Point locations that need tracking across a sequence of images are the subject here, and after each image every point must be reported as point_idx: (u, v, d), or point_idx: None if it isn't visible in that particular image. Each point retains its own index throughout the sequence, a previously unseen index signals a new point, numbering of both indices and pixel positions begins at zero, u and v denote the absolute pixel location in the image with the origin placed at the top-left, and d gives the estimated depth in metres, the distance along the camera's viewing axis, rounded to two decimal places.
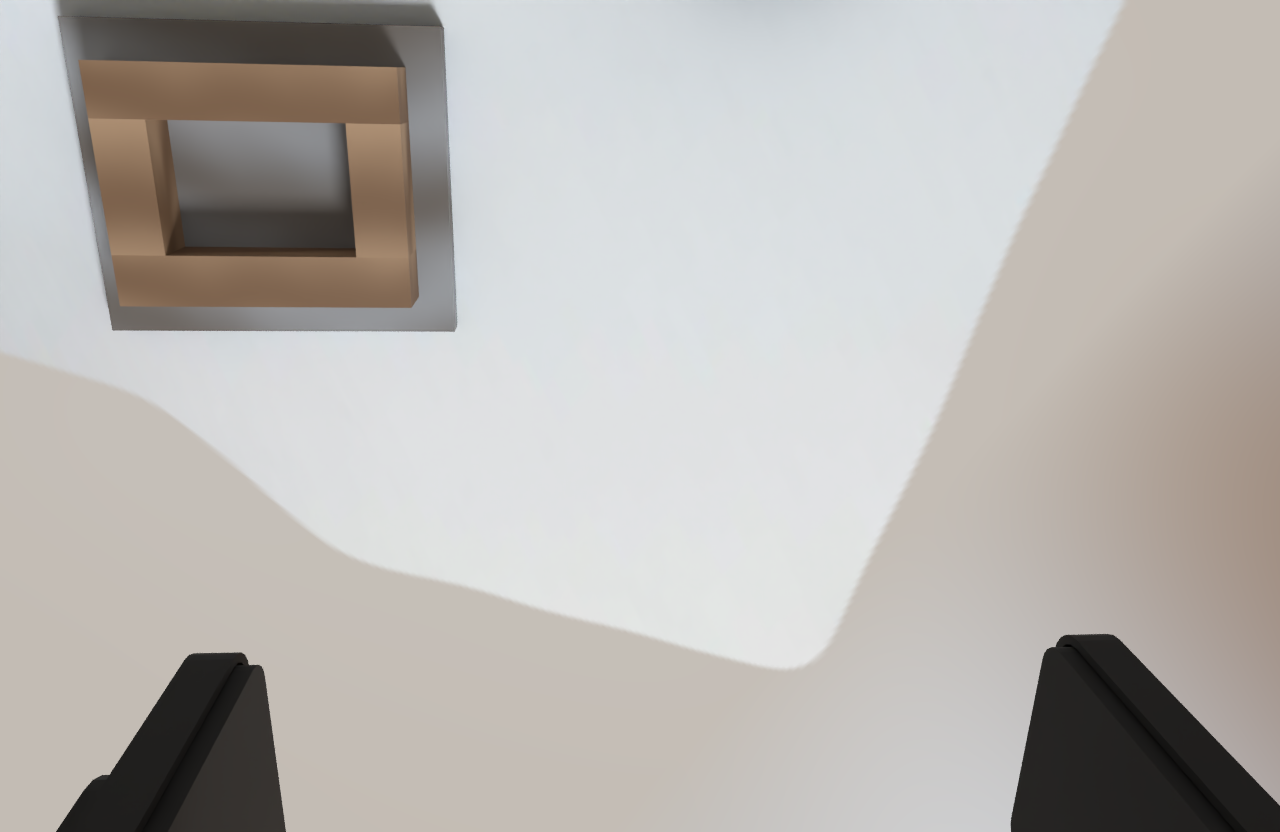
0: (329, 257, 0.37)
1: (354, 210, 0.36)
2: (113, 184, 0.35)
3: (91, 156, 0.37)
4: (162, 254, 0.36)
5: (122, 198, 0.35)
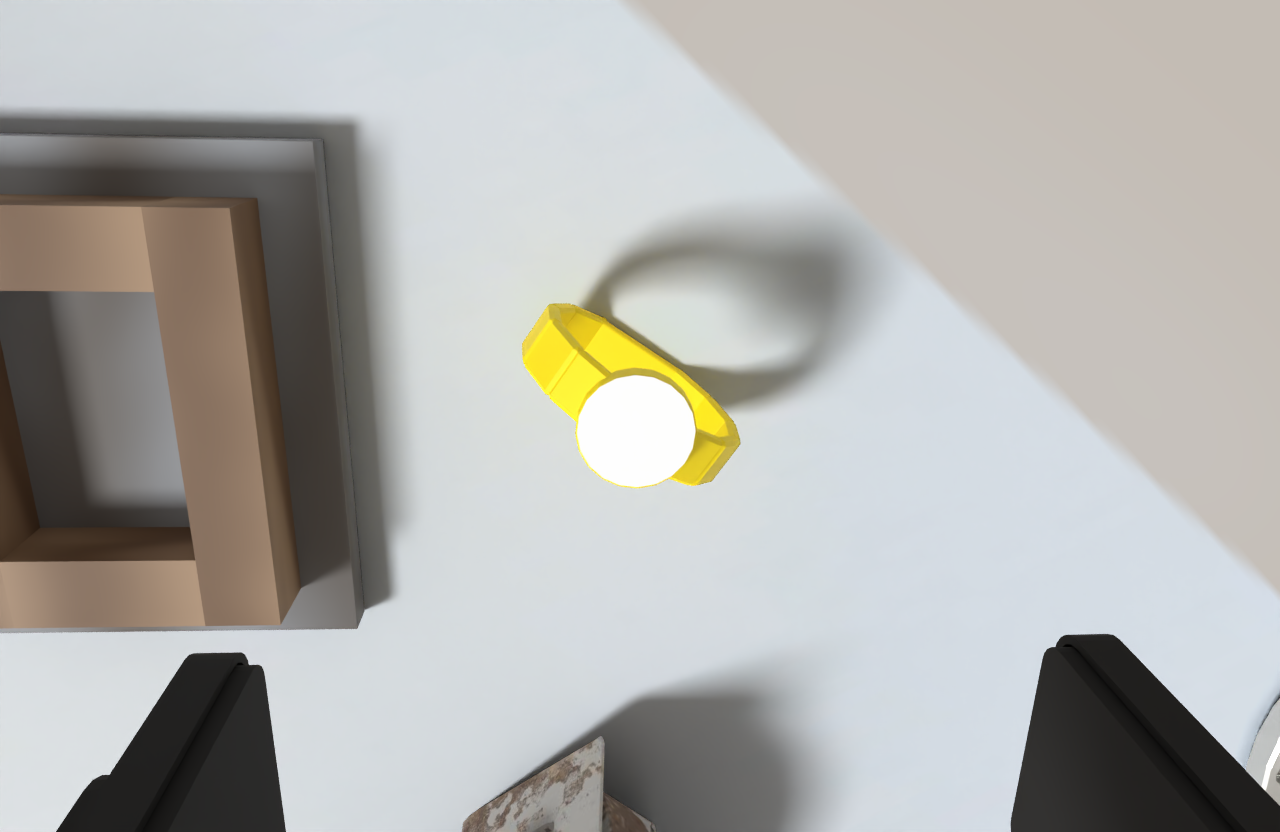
0: None
1: (70, 564, 0.25)
2: (40, 227, 0.22)
3: (106, 151, 0.23)
4: None
5: (19, 237, 0.22)
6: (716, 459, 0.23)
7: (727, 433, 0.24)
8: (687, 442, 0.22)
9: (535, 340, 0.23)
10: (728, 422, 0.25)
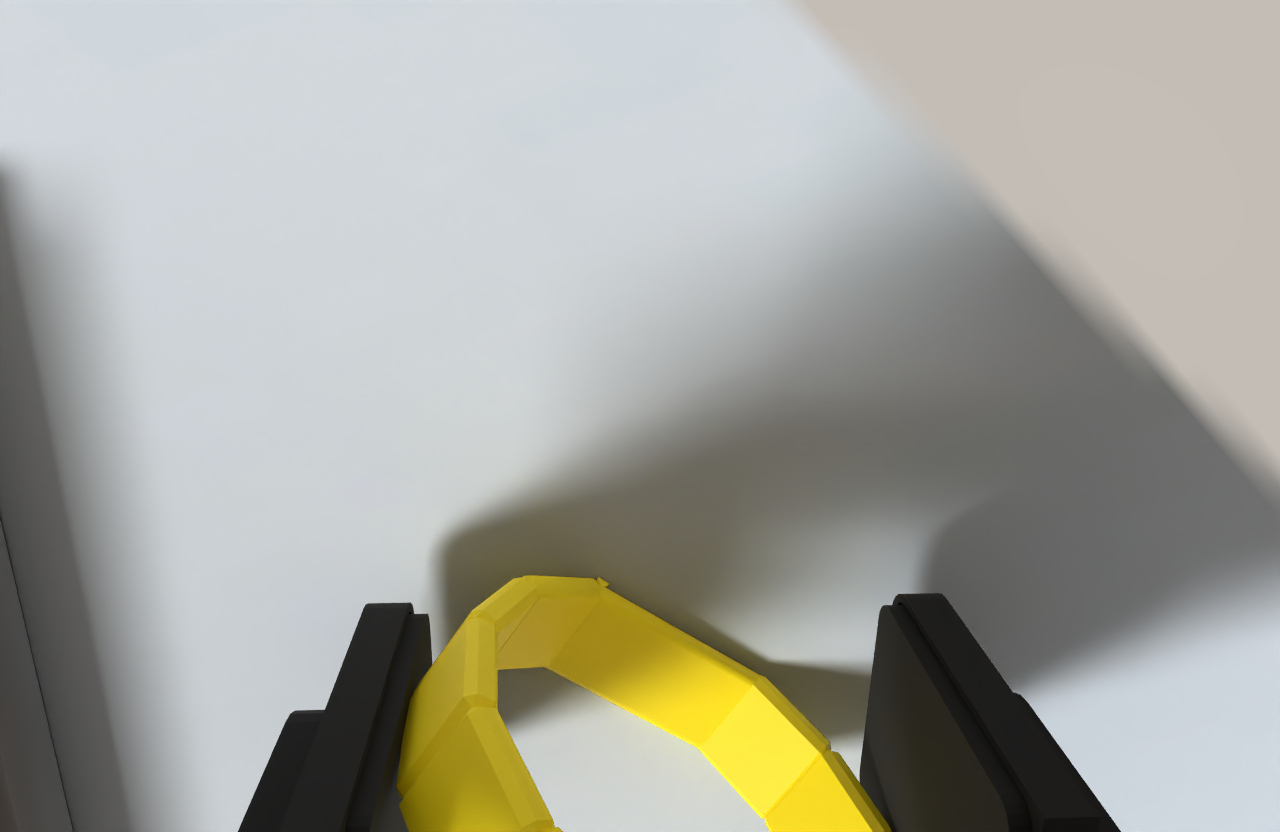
0: None
1: None
2: None
3: None
4: None
5: None
6: None
7: None
8: None
9: (427, 744, 0.09)
10: None
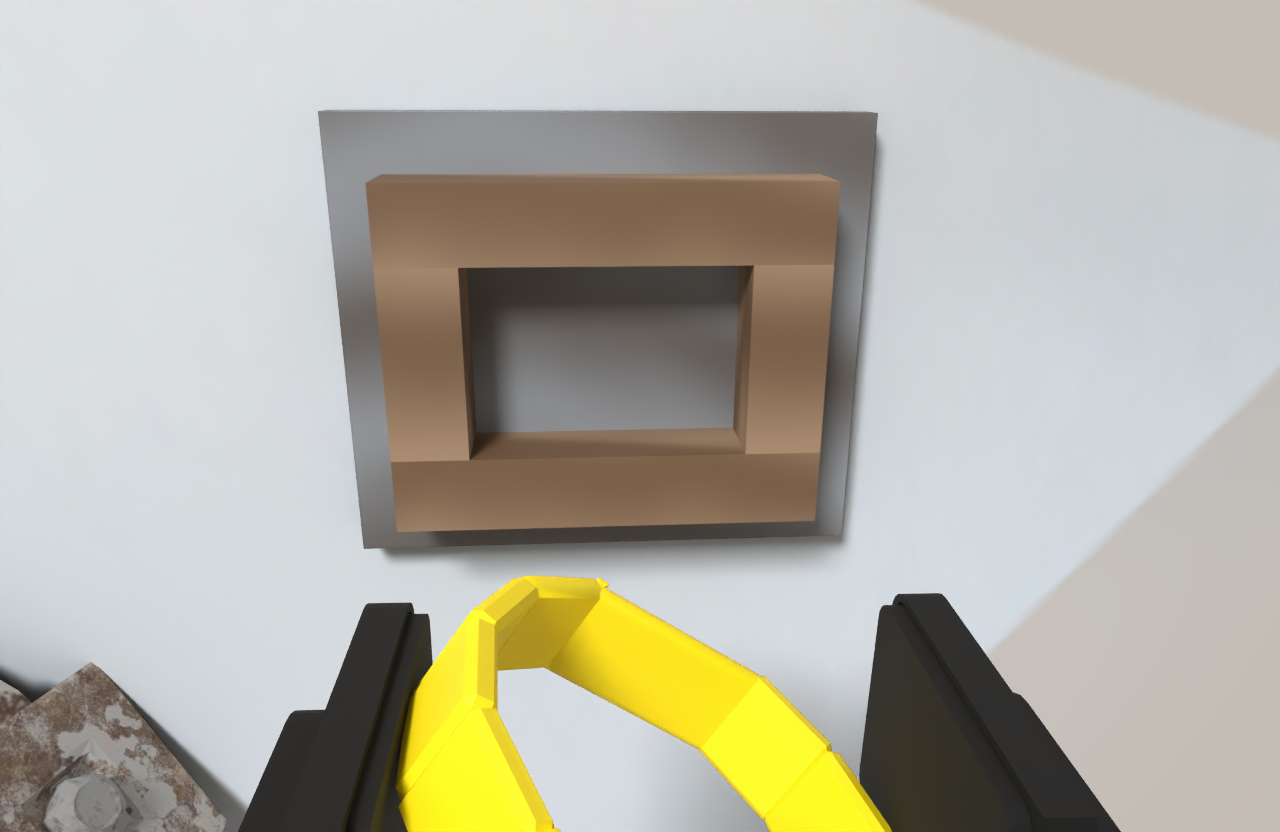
0: (501, 265, 0.23)
1: (458, 341, 0.23)
2: (806, 368, 0.24)
3: (843, 374, 0.26)
4: (758, 266, 0.23)
5: (798, 348, 0.24)
6: None
7: None
8: None
9: (427, 745, 0.09)
10: None
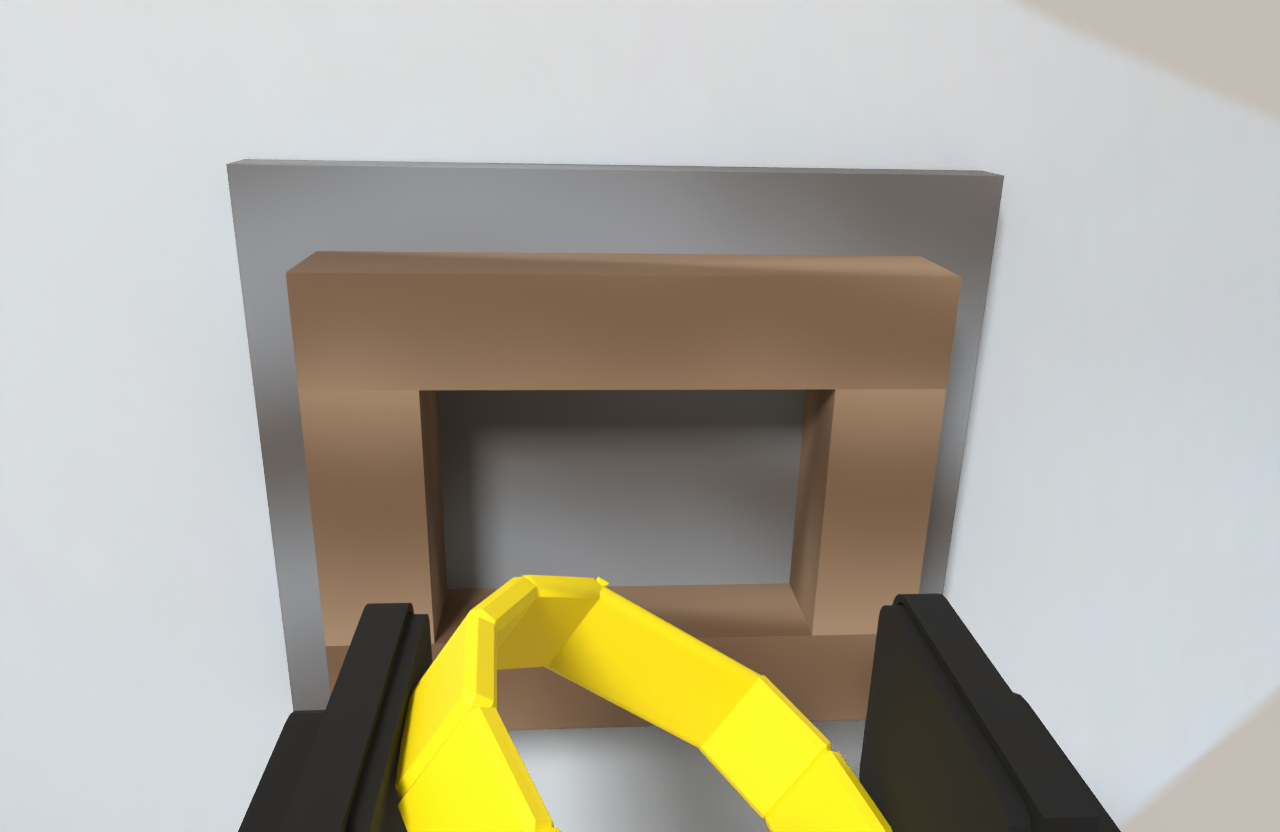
0: (481, 387, 0.16)
1: (420, 488, 0.17)
2: (901, 524, 0.18)
3: (938, 516, 0.20)
4: (841, 391, 0.17)
5: (891, 500, 0.17)
6: None
7: None
8: None
9: (426, 744, 0.09)
10: None
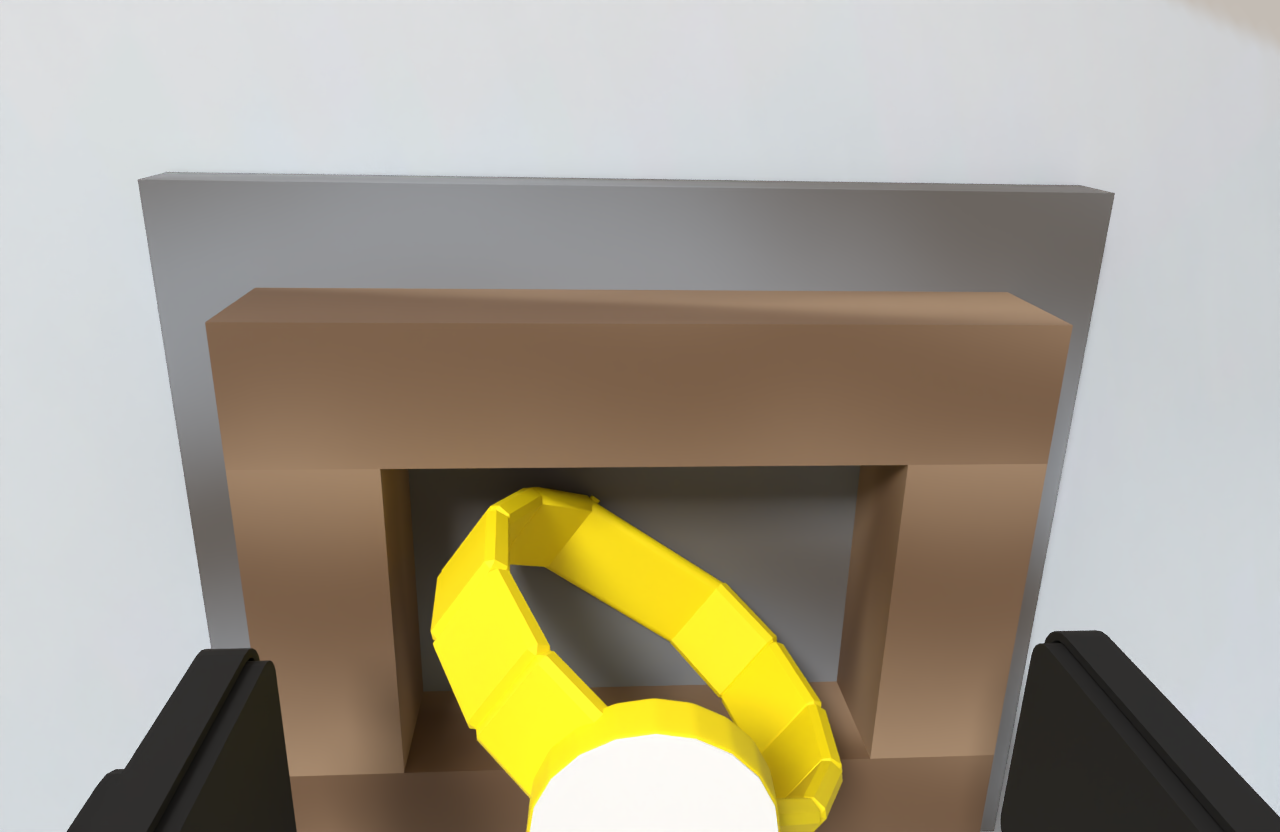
0: (459, 464, 0.13)
1: (383, 589, 0.13)
2: (984, 627, 0.14)
3: None
4: (914, 467, 0.13)
5: (973, 598, 0.14)
6: None
7: (817, 749, 0.13)
8: None
9: (455, 598, 0.12)
10: (815, 710, 0.14)
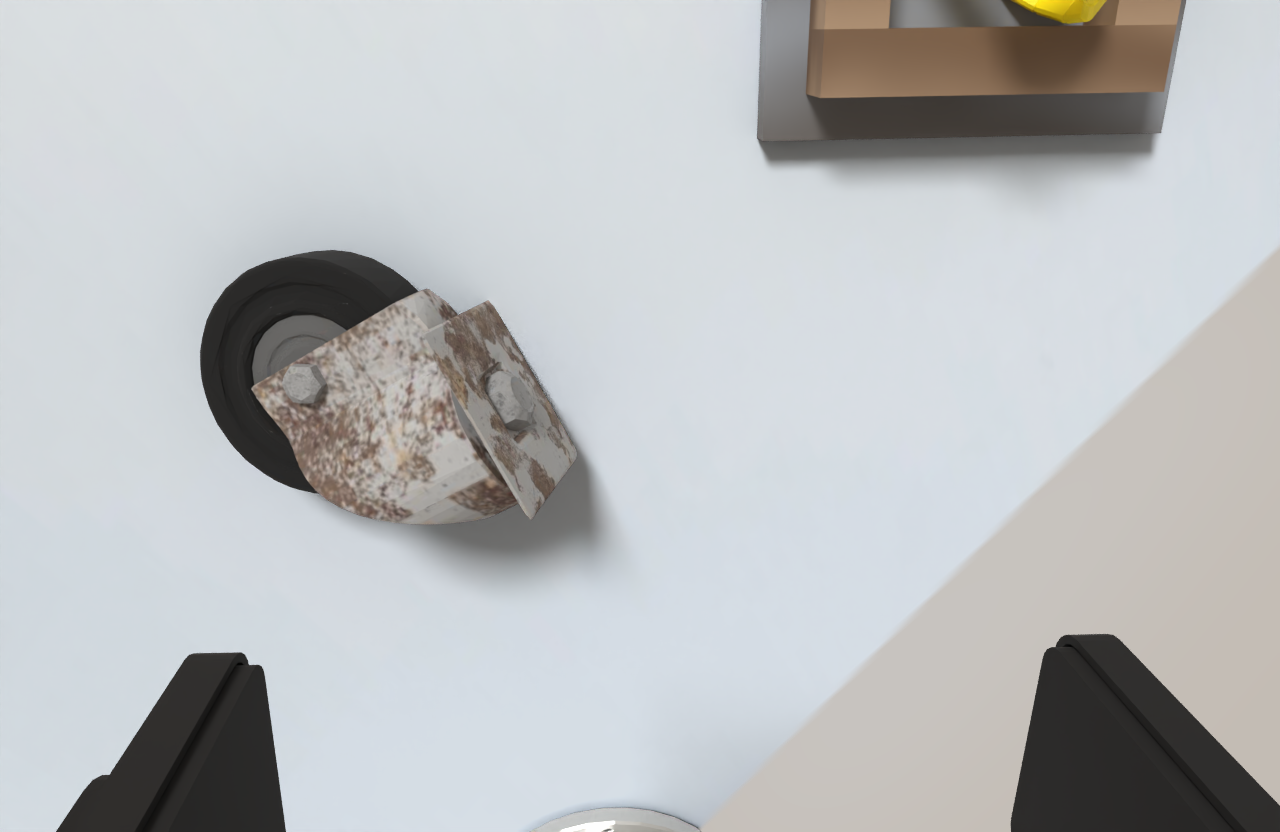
0: None
1: None
2: None
3: None
4: None
5: None
6: None
7: None
8: None
9: None
10: None
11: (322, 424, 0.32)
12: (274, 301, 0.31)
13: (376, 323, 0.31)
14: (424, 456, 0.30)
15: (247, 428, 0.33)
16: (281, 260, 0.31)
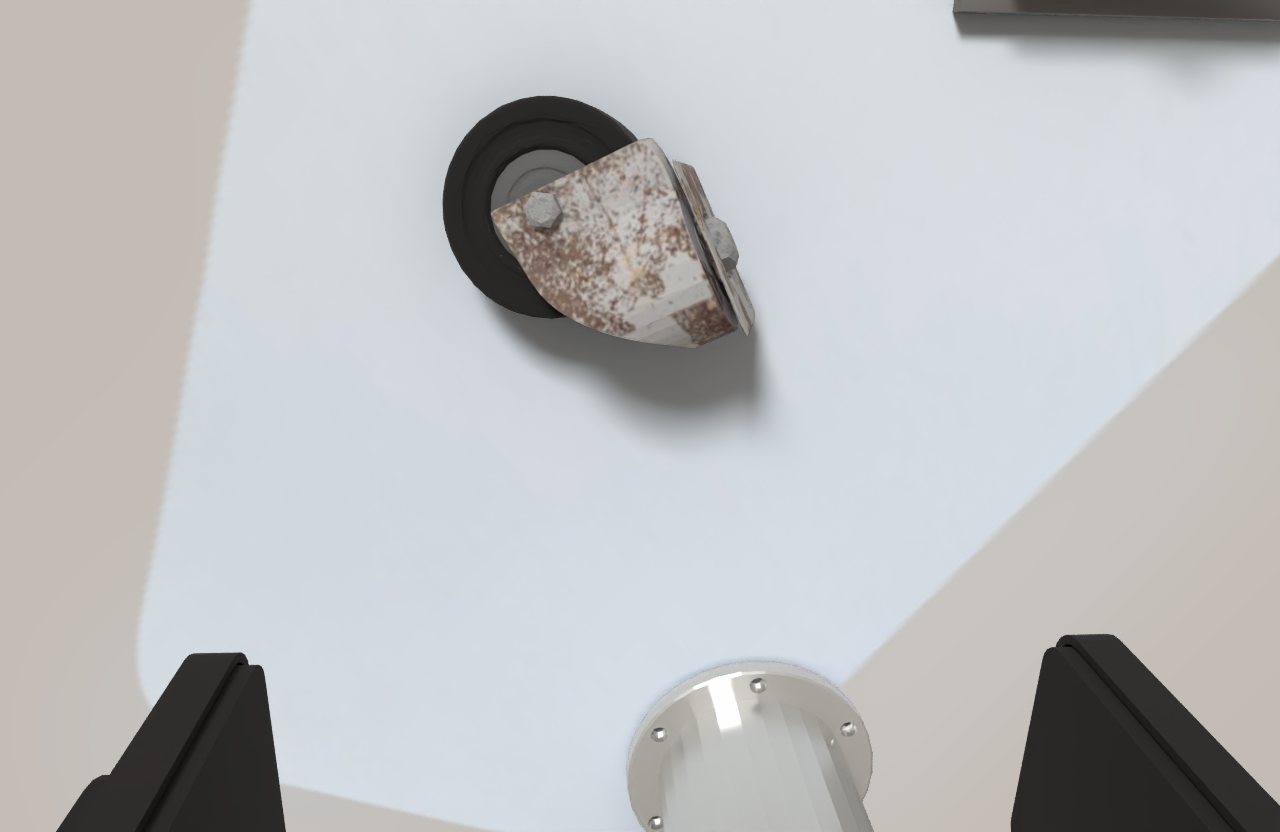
0: None
1: None
2: None
3: None
4: None
5: None
6: None
7: None
8: None
9: None
10: None
11: (553, 249, 0.35)
12: (522, 135, 0.35)
13: (617, 158, 0.35)
14: (656, 274, 0.34)
15: (478, 252, 0.36)
16: (536, 97, 0.35)
